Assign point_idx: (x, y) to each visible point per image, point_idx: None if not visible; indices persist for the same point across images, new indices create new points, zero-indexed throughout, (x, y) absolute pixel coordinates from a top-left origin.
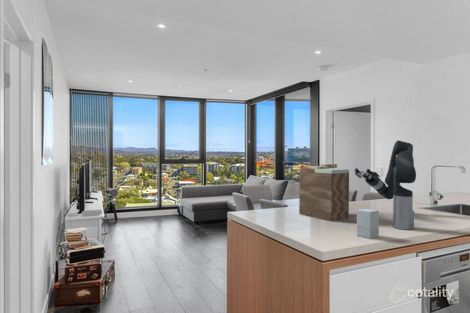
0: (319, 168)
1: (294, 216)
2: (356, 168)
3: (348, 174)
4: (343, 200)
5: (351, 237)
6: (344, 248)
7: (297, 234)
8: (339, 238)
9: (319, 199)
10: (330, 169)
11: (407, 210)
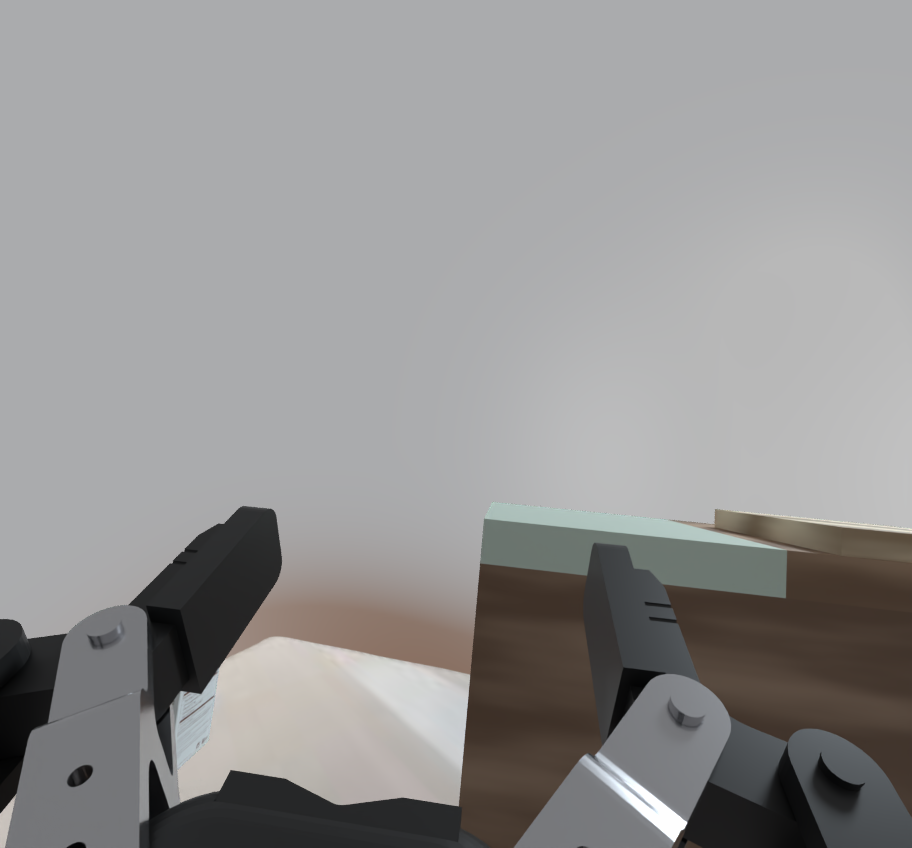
0: (732, 527)
1: None
2: (596, 558)
3: (478, 583)
4: None
5: (228, 719)
6: (231, 656)
7: (401, 680)
8: (267, 698)
9: None
10: (575, 514)
11: None
